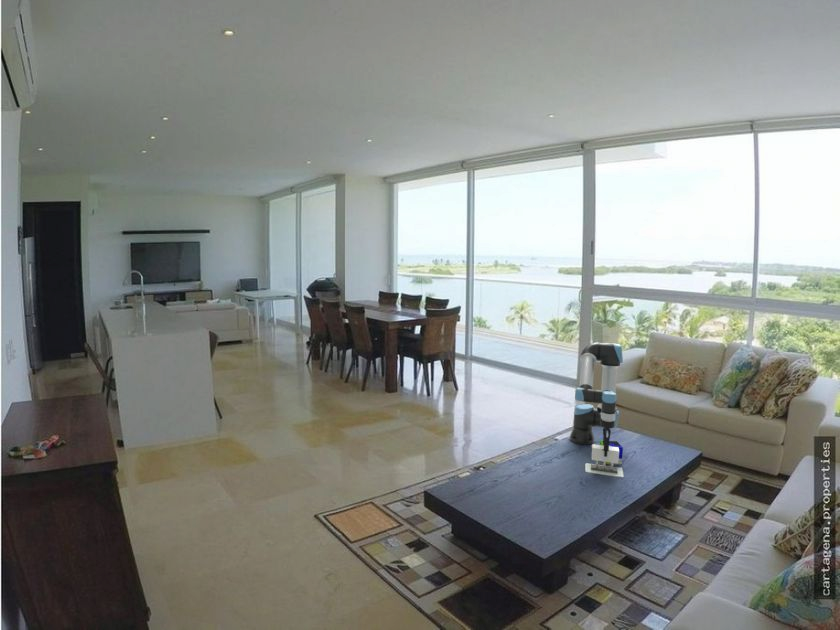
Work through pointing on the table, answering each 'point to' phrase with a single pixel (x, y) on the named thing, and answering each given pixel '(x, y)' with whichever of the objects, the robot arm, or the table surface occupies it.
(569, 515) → the table surface
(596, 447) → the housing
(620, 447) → the puzzle toy
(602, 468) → the plate
